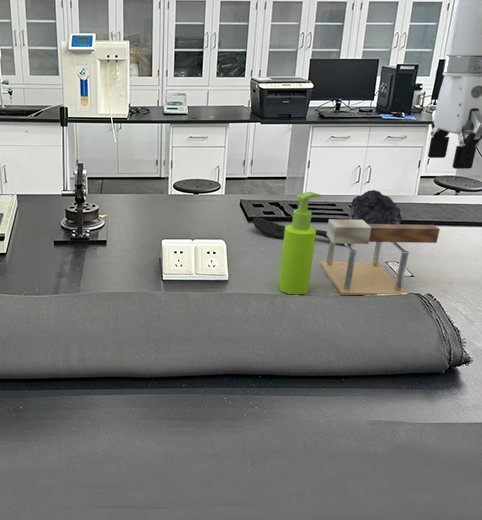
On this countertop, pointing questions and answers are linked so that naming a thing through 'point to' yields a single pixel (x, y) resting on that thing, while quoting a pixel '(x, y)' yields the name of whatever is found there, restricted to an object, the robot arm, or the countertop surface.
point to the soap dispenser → (298, 249)
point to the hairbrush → (277, 228)
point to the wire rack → (364, 273)
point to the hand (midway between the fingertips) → (448, 162)
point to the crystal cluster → (375, 209)
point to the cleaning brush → (379, 232)
